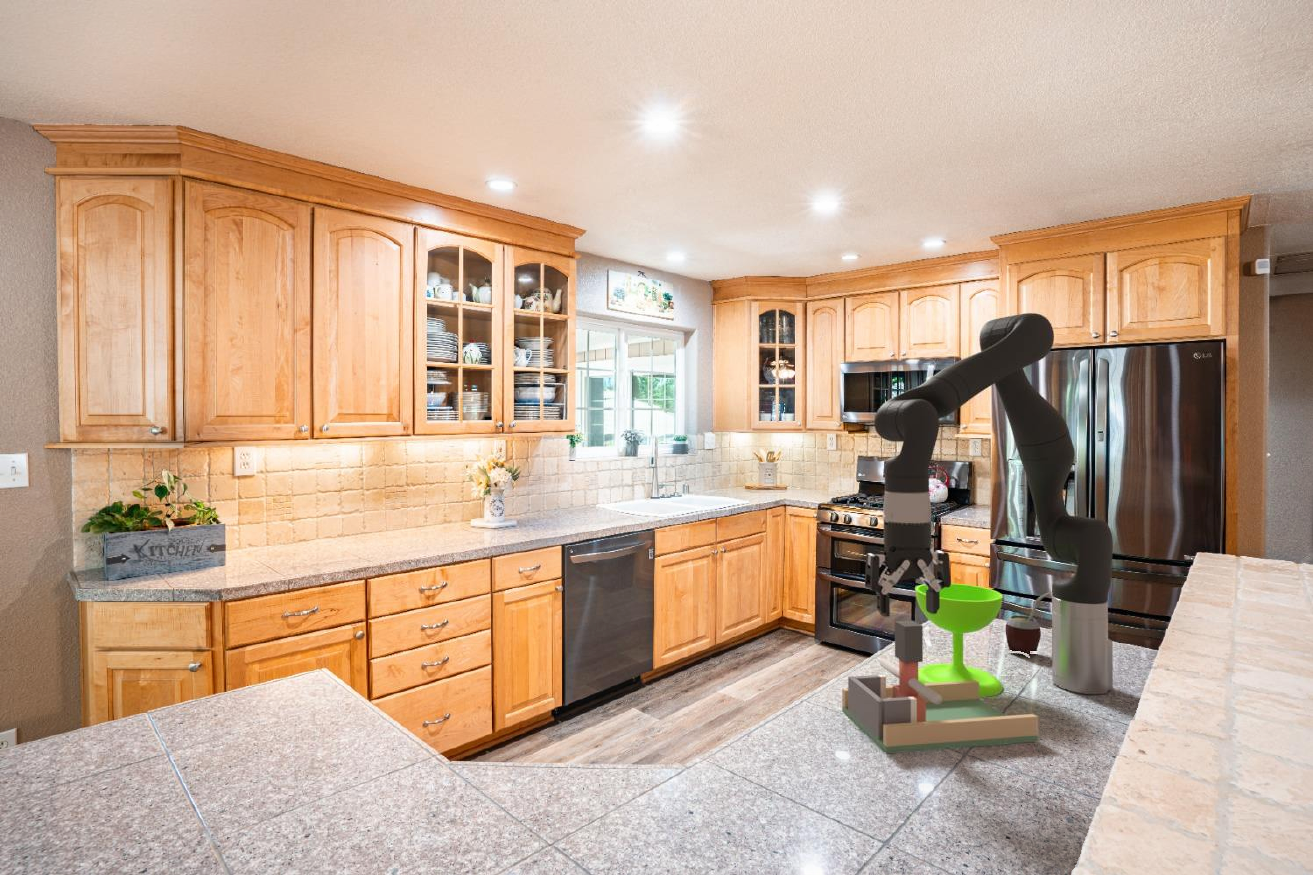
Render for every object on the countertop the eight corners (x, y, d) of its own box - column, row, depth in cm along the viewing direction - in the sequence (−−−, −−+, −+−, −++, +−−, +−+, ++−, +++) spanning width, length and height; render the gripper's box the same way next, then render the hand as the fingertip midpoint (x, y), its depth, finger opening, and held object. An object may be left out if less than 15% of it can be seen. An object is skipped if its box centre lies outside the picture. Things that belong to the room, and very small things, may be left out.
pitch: (975, 701, 121) (975, 664, 121) (1038, 741, 105) (1037, 697, 105) (842, 710, 117) (842, 671, 117) (886, 753, 102) (886, 707, 102)
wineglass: (922, 693, 126) (922, 599, 126) (909, 665, 141) (909, 581, 141) (1014, 700, 122) (1013, 603, 122) (990, 670, 138) (990, 584, 138)
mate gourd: (1000, 648, 152) (1000, 583, 152) (1036, 649, 151) (1035, 584, 151) (1014, 659, 145) (1014, 591, 145) (1052, 660, 144) (1051, 591, 144)
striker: (892, 699, 119) (892, 610, 119) (947, 741, 103) (946, 638, 103) (875, 700, 119) (875, 610, 119) (928, 743, 102) (927, 638, 102)
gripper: (933, 514, 116) (934, 606, 116) (857, 516, 113) (858, 610, 113) (959, 519, 108) (960, 618, 108) (878, 522, 106) (879, 622, 106)
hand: (908, 614), depth 111 cm, fingers open, 8 cm apart
